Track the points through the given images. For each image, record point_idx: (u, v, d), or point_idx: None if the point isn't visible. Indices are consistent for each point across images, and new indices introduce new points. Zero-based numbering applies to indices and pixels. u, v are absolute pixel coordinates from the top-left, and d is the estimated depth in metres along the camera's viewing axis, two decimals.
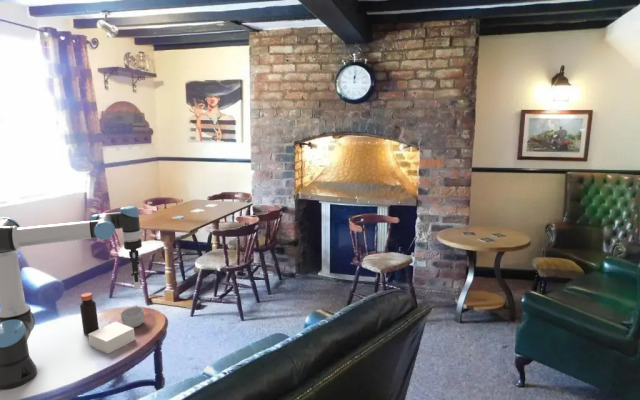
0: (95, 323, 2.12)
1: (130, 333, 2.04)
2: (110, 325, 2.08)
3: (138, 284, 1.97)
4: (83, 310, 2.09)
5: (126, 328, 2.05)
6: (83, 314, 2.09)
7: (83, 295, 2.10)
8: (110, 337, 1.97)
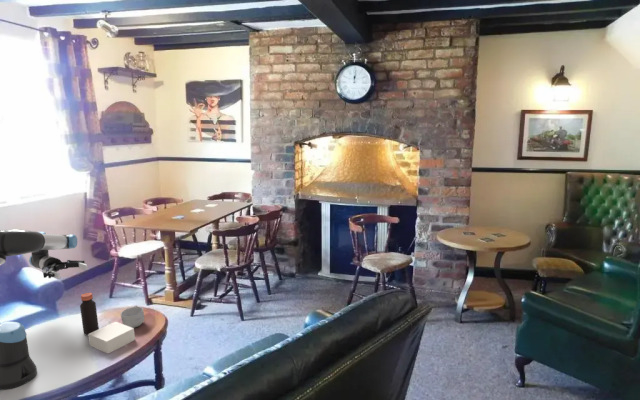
0: (95, 323, 2.12)
1: (130, 333, 2.04)
2: (110, 325, 2.08)
3: None
4: (83, 310, 2.09)
5: (126, 328, 2.05)
6: (83, 314, 2.09)
7: (83, 295, 2.10)
8: (110, 337, 1.97)
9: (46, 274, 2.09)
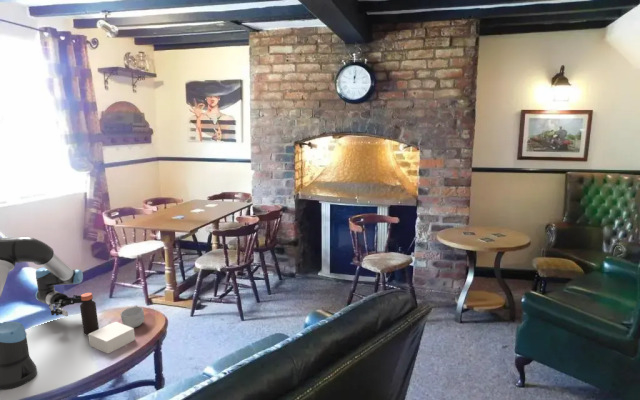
0: (95, 323, 2.12)
1: (130, 333, 2.04)
2: (110, 325, 2.08)
3: None
4: (83, 310, 2.09)
5: (126, 328, 2.05)
6: (83, 314, 2.09)
7: (83, 295, 2.10)
8: (110, 337, 1.97)
9: (54, 312, 2.12)
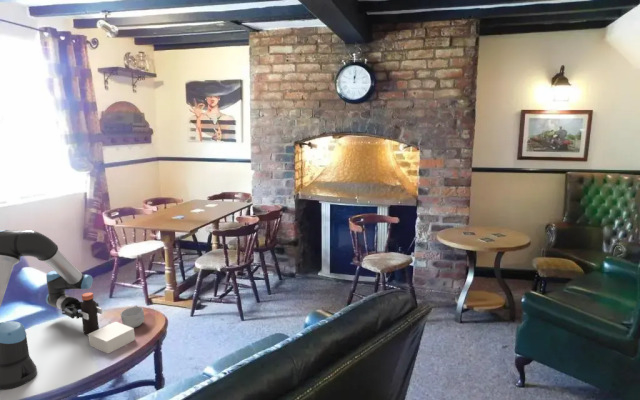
0: (95, 323, 2.12)
1: (130, 333, 2.04)
2: (110, 325, 2.08)
3: None
4: (84, 310, 2.09)
5: (126, 328, 2.05)
6: None
7: (84, 295, 2.10)
8: (110, 337, 1.97)
9: (74, 315, 2.08)
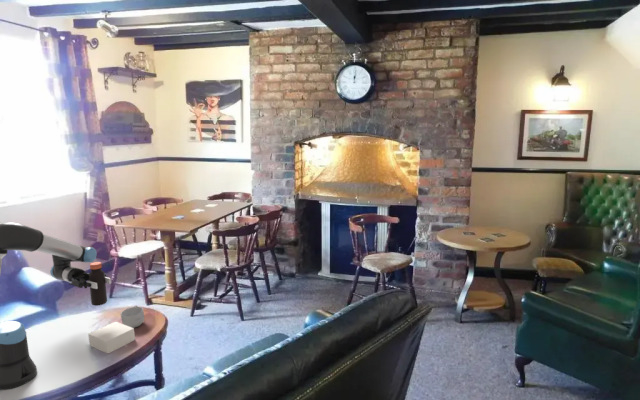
0: (104, 293, 2.06)
1: (130, 333, 2.04)
2: (110, 325, 2.08)
3: None
4: (92, 279, 2.03)
5: (126, 328, 2.05)
6: None
7: (92, 264, 2.04)
8: (110, 337, 1.97)
9: (82, 284, 2.02)
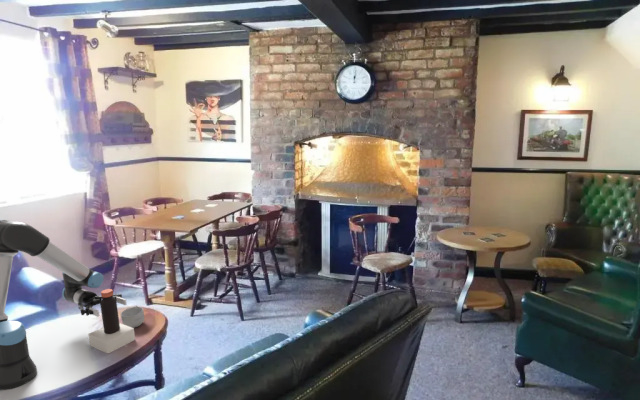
0: (116, 321, 2.01)
1: (130, 333, 2.04)
2: None
3: None
4: (103, 307, 1.97)
5: (126, 328, 2.05)
6: (104, 311, 1.98)
7: (103, 291, 1.98)
8: (110, 337, 1.97)
9: (84, 311, 1.95)
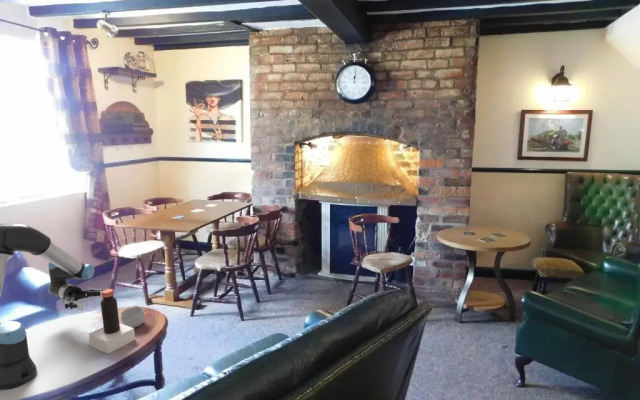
0: (116, 321, 2.01)
1: (130, 333, 2.04)
2: None
3: None
4: (104, 307, 1.97)
5: (126, 328, 2.05)
6: (104, 311, 1.98)
7: (104, 291, 1.98)
8: (110, 337, 1.97)
9: (68, 305, 2.01)
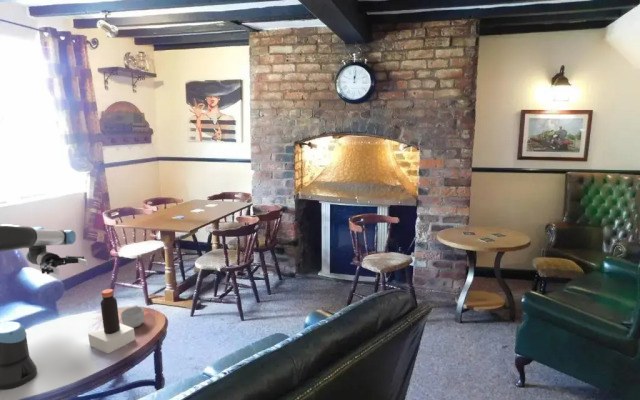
0: (116, 321, 2.01)
1: (130, 333, 2.04)
2: None
3: None
4: (104, 307, 1.97)
5: (126, 328, 2.05)
6: (104, 311, 1.98)
7: (104, 291, 1.98)
8: (110, 337, 1.97)
9: (44, 270, 2.01)
